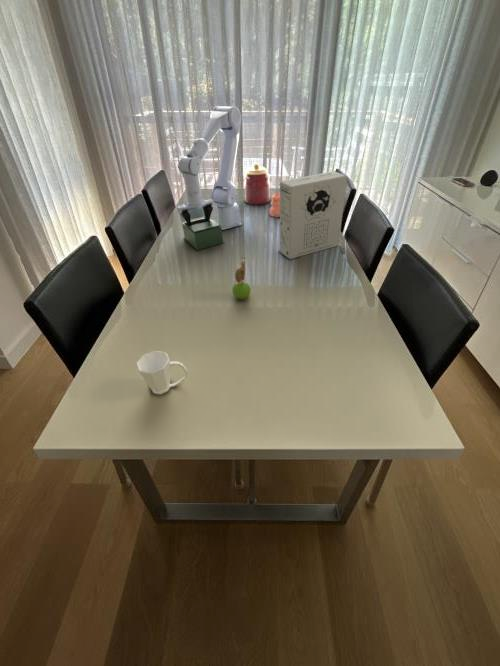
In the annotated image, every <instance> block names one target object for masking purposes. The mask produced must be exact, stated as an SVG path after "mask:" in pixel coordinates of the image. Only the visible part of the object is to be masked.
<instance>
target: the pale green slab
mask: <svg viewBox="0 0 500 666" xmlns="http://www.w3.org/2000/svg"><path fill="white" fill-rule="evenodd" d="M202 200H204V199H203V198H202ZM187 203H188V202H184V203H179V204H176V207H178V206H181V205H184V204H187ZM188 212H189V213H190V219H191V220H196V219H200V218H204V217H205V214H204V210H203V207H201V208H197V209H192V210H188ZM178 214H179V217H180V220H181V222H186V221H185V219H184V217H183V216H182V214H181V213H179V212H178Z"/></svg>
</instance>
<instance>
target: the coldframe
mask: <svg viewBox="0 0 500 666" xmlns="http://www.w3.org/2000/svg"><path fill="white" fill-rule="evenodd" d="M196 223H200V224H196ZM181 224H182V230H183V236H184V240H185V241H187V243H189V244H190V245H191V246H192V247H193V248H194V249H195V250H196V251H198V250H202V249H206V248H209V247H213V246H216V245H220V244H223V243H224V240H223V232H222V231H223V230H222V229H221V225H220V224H219V223H218V221H216V220H215V219H211V218H210V221H208V222H205V217H201V218H197V219H193V220H191V226H188V225H187V223H186V221H184V222H182V223H181ZM194 224H196V225H194ZM203 230H205V231H203ZM199 231H201V232H199ZM195 232H197V233H195Z"/></svg>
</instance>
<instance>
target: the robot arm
mask: <svg viewBox="0 0 500 666" xmlns="http://www.w3.org/2000/svg"><path fill="white" fill-rule="evenodd" d="M209 115H210V118H209V121H208V123H207V125H206V127H205V129H204V131H203V133H202V135H201V137H199V138H196V139H194V140H193V142H192V145H191V147H190V148H189V149H188V151H187V152H186V154H185V155H184V156H182V157H181V158H180V160H179V162H178V166H177V168H178V170H179V172H180V173H181V175H182V176H181V177H182V178H183V181H184V187H185V193H186V199H187V202H186V203H187V204H184V203H183V204H184V205H181V206H178V207H177V206H176V207H177V208H176V209H177V212H178V214H179V213H181V214H182V216H183V217H184V219H185V221H184V222H186V223H187V225H188V226H191V221H192V219H190V213H189V212H188V210H192V209H197V208H201V207H203V210H204V214H205V216H204V218H205V222H208V221H210V219H211V216H212V212H213V210H214V206H215V208H216V218H217V223H219V224H220V225H221V230H222V231H224V230H228V229H231V228H235V227H239V226H242V223H241V213H240V212H241V211H240V207H239V205H238V203H237V202H236V201H237V186H236V185H235V184H234V183H233V179H234V178H233V177H234V172H235V164H236V160H237V159H236V158H237V153H238V145H239V141H240V140H239V139H240V131H241V123H242V118H243V117H242V114H241V112H240V109H239V108H238V106H236V105H235V106H234V105H233V106H220V105H216V106H214V107H213V109H212V110H211V112H210V113H209ZM219 131H220V132H221V133H222V134H223V136H224V142H223V143H224V144H223V149H222V156H221V161H220V170H219V176H218V180H216V181H215V182H214V183H213V188H212V190H211V193H210V199H209V198H208V199H203V192H202V186H201V180H200V173H201V172H202V168H203V167H202V165H203V161H204V159H205V158H206V156H207V154H208V153H209V151H210V143H211V142H212V141H213V140H214V138H215V137H216V135H217V134H218V133H219ZM202 199H203V200H202Z"/></svg>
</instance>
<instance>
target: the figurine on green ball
mask: <svg viewBox="0 0 500 666" xmlns="http://www.w3.org/2000/svg"><path fill="white" fill-rule="evenodd" d="M240 258H241V262H240V265H241V266H238V267H237V268H236V270H235V275H234V276H235V277H234V278H235V281H236V282H235V283H234V284H233V286H232V289H231V290H232V294H233V296H234V297H235V298H236V299H237V300H245V299H247V298H248V297H249V296H250V294H251V285H250V284H249V283H248V282H246V281H245V278H246V256H241V257H240Z"/></svg>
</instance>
